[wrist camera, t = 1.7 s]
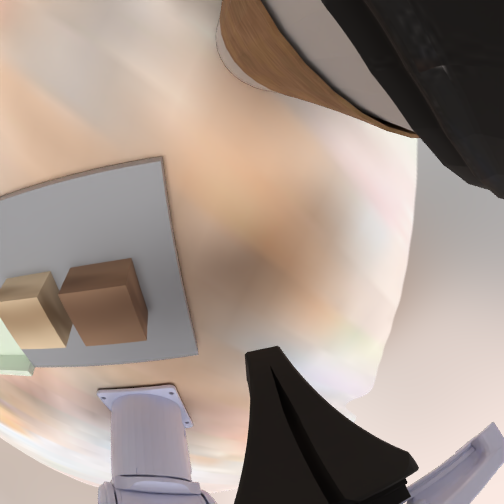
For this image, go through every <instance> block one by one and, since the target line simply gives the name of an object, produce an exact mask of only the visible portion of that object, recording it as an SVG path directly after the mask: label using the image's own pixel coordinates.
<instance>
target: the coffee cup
mask: <svg viewBox="0 0 504 504" xmlns="http://www.w3.org/2000/svg"><path fill="white" fill-rule="evenodd" d="M216 43H217V49H218V52H219V55H220V58H221V60H222V61H223V63H224V64H225V66H226V67H227V69H228V70H229V71H230V72H231V73H232V74H233V75H234V76H236V77H237V78H238V79H240V80H241V81H242V82H244V83H246V84H248V85H250V86H252V87H256V88H259V89H262V90H266V91H272V92H278V93H281V94H284V95H287V96H291V97H295V98H298V99H301V100H305V101H308V102H311V103H314V104H318V105H321V106H324V107H327V108H330V109H333V110H335V111H338V112H341V113H344V114H346V115H349V116H352V117H354V118H357V119H360V120H362V121H365V122H367V123H370V124H372V125H374V126H377V127H379V128H381V129H384V130H386V131H389V132H393V133H396V134H400V135H403V136H407V137H410V138H421V139H422V140H423V142H424V143H425V144H426V145H427V146H428V147H429V148H430V149H431V151H432V152H433V153H434V154H435V155H436V156H437V158H438V159H439V160H440V161H441V163H442V164H443V165H444V166H446V167H447V168H449V169H450V170H451V171H452V172H454V173H455V174H456V175H458V176H459V177H461V178H462V179H463V180H464V181H466V182H467V183H468V184H471V185H474V186H478V187H481V188H484V189H488V190H490V191H492V192H493V193H494V194H495V195H496V196H497V197H498V198H502V199H504V0H222V6H221V13H220V18H219V22H218V26H217V33H216Z"/></svg>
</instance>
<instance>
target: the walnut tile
mask: <svg viewBox="0 0 504 504" xmlns="http://www.w3.org/2000/svg"><path fill="white" fill-rule="evenodd" d="M58 296H59V298H60V300H61V302H62V304H63V306H64V308H65V310H66V312H67V314H68V316H69V317H70V319H71V321H72V323H73V325H74V327H75V328H76V330H77V332H78V334H79V335H80V337H81V339H82V341H83V342H84V344H85V346H98V345H110V344H120V343H130V342H139V341H147V325H148V309H147V306H146V303H145V300H144V297H143V294H142V291H141V288H140V285H139V282H138V278H137V275H136V272H135V268H134V265H133V261H132V258H127V259H121V260H115V261H108V262H102V263H96V264H90V265H84V266H78V267H72V268H70V269H69V271H68V273H67V276H66V278H65V280H64V282H63V284H62V286H61V289H60V291H59V293H58Z"/></svg>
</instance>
